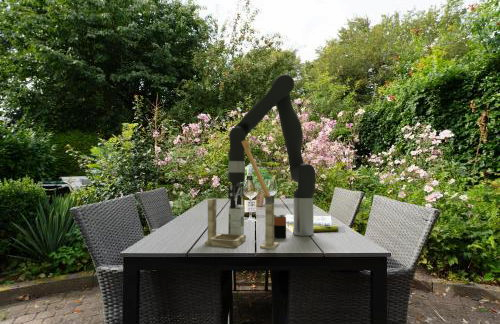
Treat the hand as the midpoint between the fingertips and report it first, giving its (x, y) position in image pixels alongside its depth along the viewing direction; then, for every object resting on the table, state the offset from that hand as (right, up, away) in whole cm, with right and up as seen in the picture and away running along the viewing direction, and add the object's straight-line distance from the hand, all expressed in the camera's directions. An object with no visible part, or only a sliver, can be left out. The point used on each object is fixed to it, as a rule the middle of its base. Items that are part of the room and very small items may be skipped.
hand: (236, 207), depth 142 cm
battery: (+19, -14, 0) cm, 23 cm away
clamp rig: (+3, -13, -12) cm, 18 cm away
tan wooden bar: (+9, +17, -14) cm, 23 cm away
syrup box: (0, -14, 0) cm, 14 cm away
